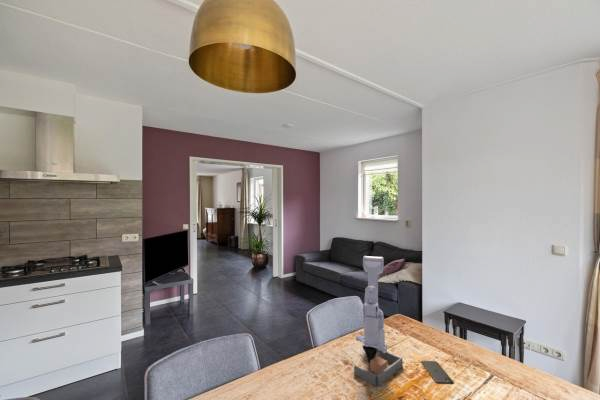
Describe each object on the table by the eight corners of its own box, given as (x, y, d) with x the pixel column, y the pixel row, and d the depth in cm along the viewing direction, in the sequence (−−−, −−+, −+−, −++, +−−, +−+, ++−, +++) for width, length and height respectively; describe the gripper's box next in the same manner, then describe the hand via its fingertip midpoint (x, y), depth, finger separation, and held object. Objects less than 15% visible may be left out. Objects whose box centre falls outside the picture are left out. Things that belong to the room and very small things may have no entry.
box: (380, 356, 124) (380, 348, 124) (402, 366, 116) (402, 358, 116) (354, 373, 111) (354, 365, 111) (377, 387, 103) (377, 377, 103)
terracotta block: (376, 365, 117) (376, 355, 117) (387, 370, 114) (387, 360, 114) (370, 369, 114) (370, 360, 114) (380, 375, 110) (380, 365, 110)
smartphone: (436, 360, 120) (455, 382, 105) (436, 362, 120) (455, 384, 105) (420, 360, 120) (435, 382, 105) (420, 362, 120) (435, 384, 105)
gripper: (351, 328, 120) (351, 359, 119) (380, 340, 109) (380, 374, 109) (361, 323, 124) (361, 353, 124) (389, 334, 114) (389, 367, 113)
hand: (370, 362), depth 117 cm, fingers closed
